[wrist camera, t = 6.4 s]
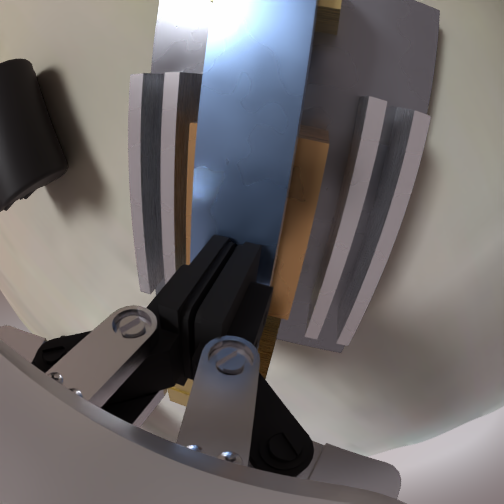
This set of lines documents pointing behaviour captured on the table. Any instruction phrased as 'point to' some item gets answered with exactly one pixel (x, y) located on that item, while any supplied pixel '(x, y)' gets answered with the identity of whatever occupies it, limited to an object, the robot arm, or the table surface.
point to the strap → (250, 122)
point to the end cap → (25, 135)
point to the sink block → (305, 165)
